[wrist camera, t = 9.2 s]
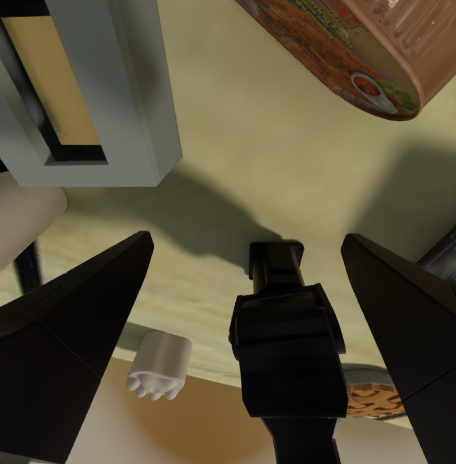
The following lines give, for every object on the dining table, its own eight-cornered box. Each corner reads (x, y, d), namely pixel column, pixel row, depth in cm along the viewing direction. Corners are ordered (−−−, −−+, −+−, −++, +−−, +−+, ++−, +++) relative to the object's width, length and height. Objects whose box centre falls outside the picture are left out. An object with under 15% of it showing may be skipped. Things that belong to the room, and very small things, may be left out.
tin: (197, -35, 12) (137, -186, 5) (224, -116, 10) (186, -483, 4) (359, 118, 16) (441, 140, 9) (397, 76, 15) (529, 68, 8)
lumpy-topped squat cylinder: (197, 341, 41) (188, 392, 34) (178, 362, 49) (166, 408, 42) (149, 326, 39) (128, 378, 32) (136, 350, 46) (116, 397, 39)
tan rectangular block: (136, 131, 17) (103, 144, 13) (103, 131, 18) (61, 144, 14) (111, 36, 14) (56, 15, 10) (70, 37, 14) (0, 17, 10)
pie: (290, 382, 52) (294, 407, 48) (369, 356, 40) (383, 386, 36) (344, 403, 58) (351, 426, 54) (425, 385, 47) (442, 413, 43)
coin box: (182, 157, 19) (156, 186, 13) (84, 158, 20) (20, 187, 14) (152, -22, 13) (77, -111, 7) (8, -9, 13) (-165, -79, 8)
